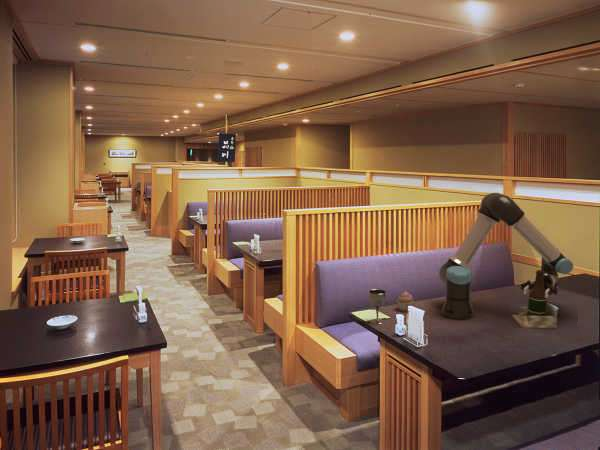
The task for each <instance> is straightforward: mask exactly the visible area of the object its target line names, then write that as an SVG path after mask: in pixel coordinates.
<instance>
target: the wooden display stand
mask: <svg viewBox="0 0 600 450" xmlns="http://www.w3.org/2000/svg"><path fill="white" fill-rule="evenodd" d="M518 311H519V312H518V314H512V318H513V319H514V321H515V322H516V323H517V324H518V325H519V326H520V327H521V328H528V329H529V328H533V329H535V328H536V329H538V328H540V329H541V328H542V329H557V328H558V325H557V324H558V310H557V308H555V307H554V306H552V305H551V304H550V303H549V302H547V303H546V313H545V316H528V319H527V314H528V306H527V307H525V306H520V307H519V309H518Z"/></svg>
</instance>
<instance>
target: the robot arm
mask: <svg viewBox="0 0 600 450" xmlns="http://www.w3.org/2000/svg"><path fill="white" fill-rule="evenodd" d="M525 214H526V213H525V211H524V210H523V209H522V208H521V207H520V206H519V205H518V204H517V203H516V202H515V201H514V200H513V198H511V197H510V196H509V195H505V194H503V193H500V192H491V193H488V194H486V195H485V196H483V198H482V199H481V202H480V208H479V209H478V211H477V216H478V217H477V219H475V222H474V223H473V225H472V226H471V227H470V229H469V231H468V233H467V234H466V236H465V237H464V239H463V241H462V242H461V244H460V245H459V248H458V249H457V251H456V252H455V254H454V256H450V257H449V258H448V259H447V261H446V262H444V263H443V264H442V265H441V266H440V268H439V271H438V273H439V278H440V281H441V282H442V283H443V284H444V285H445V299H444V303H443V305H442V308H441V315H442V316H444V317H446V318H449V319H453V320H469V319H470V320H471V319H473V317H474V307H473V305H472V302H471V301H472V300H471V289H472V271H471V267H470V264H471V262H472V261H473V259H474V258H475V256H476V255H477V253H478V251H479V249H480V248H481V246H482V245H483V243H484V241H485V240H486V238H488V237H487V236H489V233H490V232H491V230H492V229H493V227H494V226H495V225H498V224H499V223H500V222H501V221H502V222H503V223H505V225H506V226H507V227H512V228H513V229H514V230H515V232H517V233H518V235H520V236H521V238H522V239H524V240H525V241H526V242H527V243H528V244H529V245H530V247H532V249H534V251H536V252H537V253H538V254H539V255H540V257H541V266H540V270H543V271H544V272H545V273H544V289H545V290H546V292H545V298H547V299H548V297H549V296H552V295H553V294H554V295H555V296H557V295H558V290H559V284H558V283H557V281H558V280H559V274H561V275H562V274H563V275H567V274H569V273H570V274H571V272H572V271H573V269H574V263H573V262H572V260H570V259H569V258H567V257H566V256H565V255H564V254H563V253H562V252H561V251H560V250H559V248H557V247H556V246H555V245H554V244H553V243H552V242H551V241H550V240H549V239H548V238H547V237H546V236H545V235H544V234H543V233H542V232H541V231H540V230H539V229H538V228H537V227H536V226H535V225H534V224H533V223H532V222H531V221H530V220H529V219H528V218H527V217H526V216H525ZM534 285H535V280H534V281H531V280H529V279H528V280H527V281H524V282H523V283H521V284H520V289H521V291H522V292H523V295H527V294H528V293H529V291H531V290H532V288H533V287H534Z"/></svg>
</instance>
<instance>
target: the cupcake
mask: <svg viewBox="0 0 600 450" xmlns="http://www.w3.org/2000/svg"><path fill="white" fill-rule="evenodd" d="M396 303H397V304H398V310H399V311H401V312H404V313H405V312H409V311H408V310H407V309H408V306H409V305H413V306H414V305H415V303H416V302H415V300H414V299H413V295H412V294H410V293H409V292H408V291H406V290H404V292H402V293H401V294H400V295H399V296H398V299H396Z"/></svg>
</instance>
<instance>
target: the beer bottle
mask: <svg viewBox="0 0 600 450" xmlns="http://www.w3.org/2000/svg"><path fill="white" fill-rule="evenodd" d="M544 273H545V272H544V271H543V270H541V269H537V270H536V271H535V280H534V281H535V285H534V287H533V288H532V289H531V290H530V292H529V296H528V305H527V307H528V314H527V319H528V316H545V313H546V303H548V297H547V298H545V292H546V290H545V289H544Z"/></svg>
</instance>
